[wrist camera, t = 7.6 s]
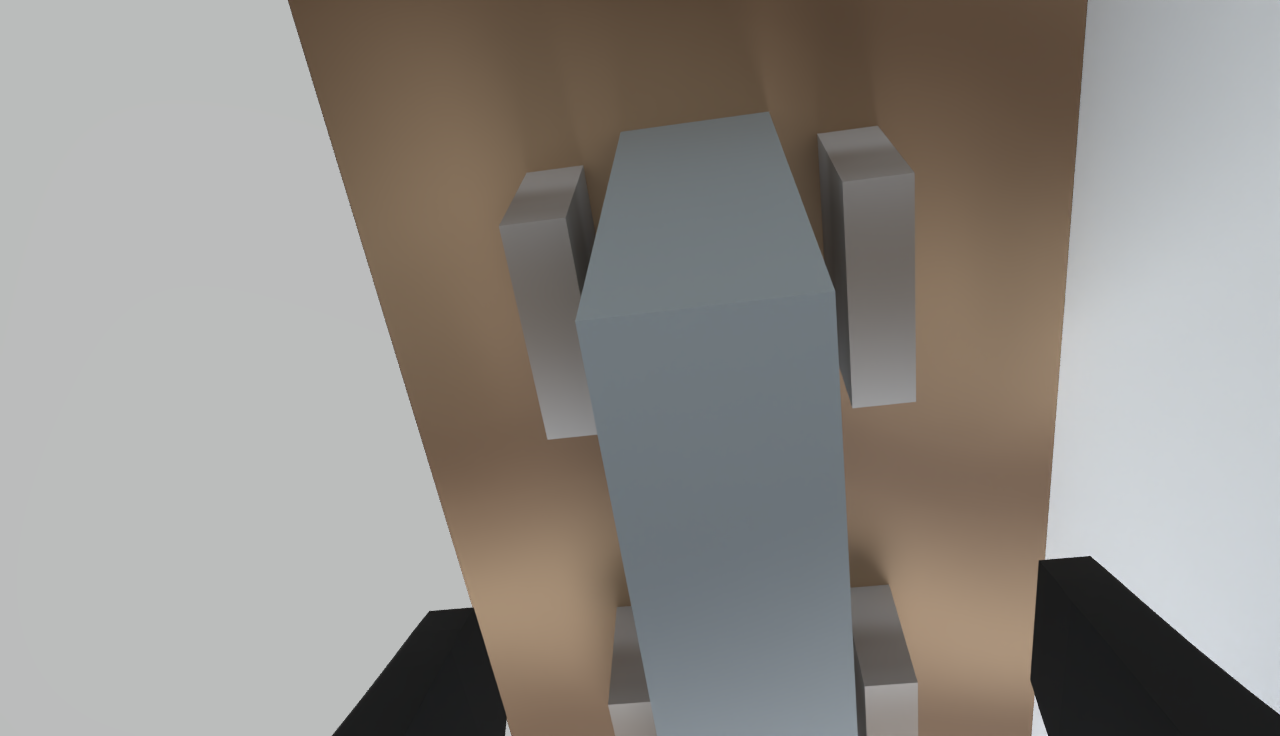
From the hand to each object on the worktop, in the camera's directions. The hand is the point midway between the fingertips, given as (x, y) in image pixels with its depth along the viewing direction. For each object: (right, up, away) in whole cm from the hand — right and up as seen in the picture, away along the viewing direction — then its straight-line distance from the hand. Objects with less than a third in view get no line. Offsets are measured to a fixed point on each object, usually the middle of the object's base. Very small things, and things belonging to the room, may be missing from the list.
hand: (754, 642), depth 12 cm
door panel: (0, +2, +3) cm, 4 cm away
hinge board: (0, +2, +4) cm, 5 cm away
